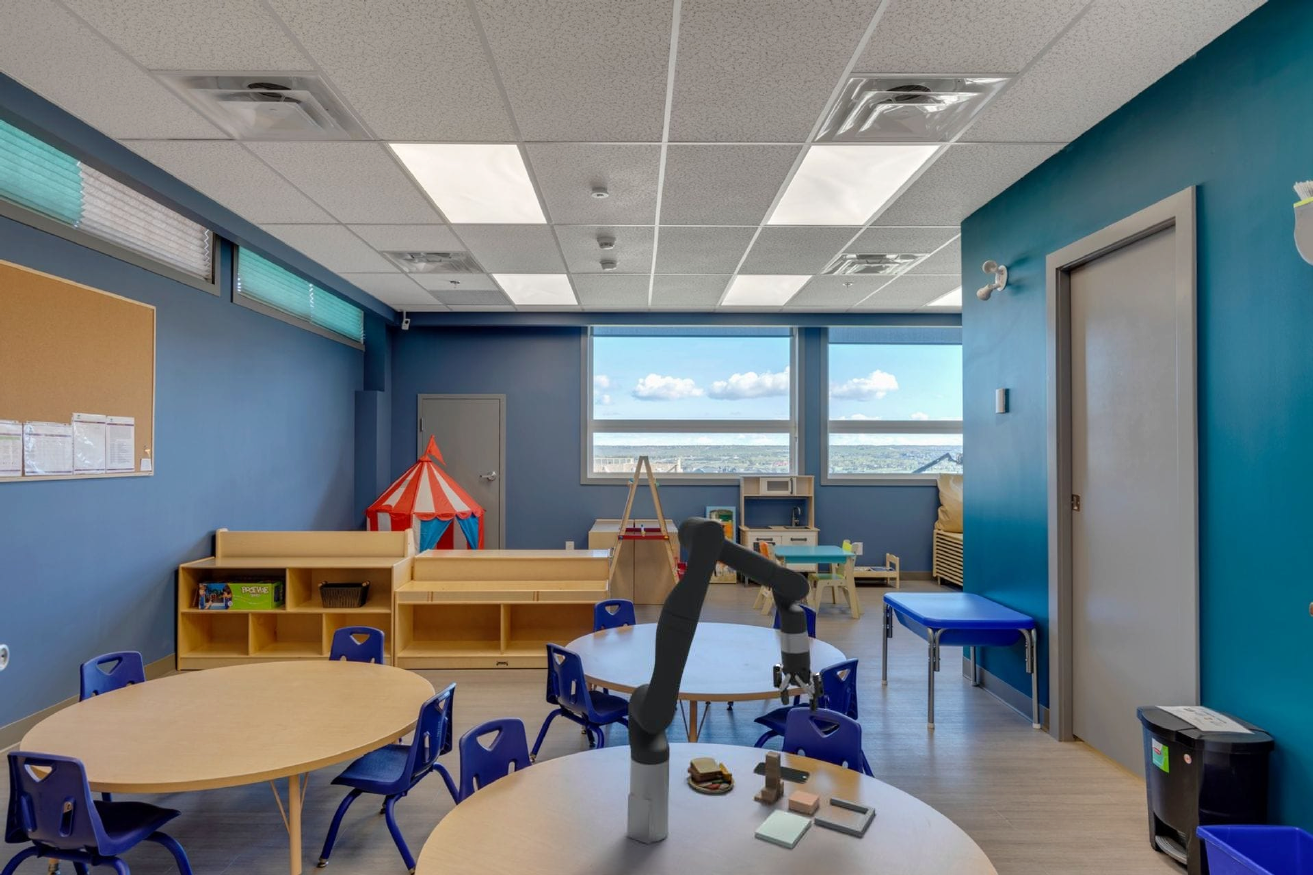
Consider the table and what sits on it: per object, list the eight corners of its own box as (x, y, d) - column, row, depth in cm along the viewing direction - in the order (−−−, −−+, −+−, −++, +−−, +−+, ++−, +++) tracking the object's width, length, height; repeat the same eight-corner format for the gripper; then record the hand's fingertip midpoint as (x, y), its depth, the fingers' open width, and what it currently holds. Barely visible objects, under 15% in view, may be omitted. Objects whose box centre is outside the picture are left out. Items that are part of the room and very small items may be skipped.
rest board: (791, 848, 151) (791, 843, 151) (754, 836, 156) (755, 831, 156) (811, 823, 162) (811, 819, 162) (776, 813, 167) (776, 808, 167)
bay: (860, 836, 156) (860, 831, 156) (814, 822, 162) (814, 817, 162) (875, 813, 168) (875, 808, 168) (831, 800, 174) (831, 796, 174)
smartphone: (804, 783, 183) (752, 771, 189) (804, 785, 183) (752, 773, 189) (811, 772, 190) (760, 761, 196) (811, 774, 190) (760, 763, 196)
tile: (811, 815, 166) (811, 805, 167) (788, 808, 170) (788, 798, 170) (819, 806, 171) (819, 796, 172) (796, 799, 175) (796, 789, 175)
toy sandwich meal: (696, 797, 175) (696, 778, 175) (682, 774, 188) (682, 757, 188) (741, 792, 178) (741, 774, 178) (723, 770, 191) (724, 754, 191)
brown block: (772, 804, 171) (772, 760, 172) (754, 799, 174) (754, 756, 174) (783, 792, 178) (784, 750, 178) (766, 787, 180) (766, 745, 181)
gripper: (764, 646, 179) (769, 706, 179) (810, 655, 169) (815, 719, 169) (780, 639, 185) (785, 697, 185) (826, 647, 175) (830, 709, 175)
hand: (799, 708), depth 177 cm, fingers open, 8 cm apart
